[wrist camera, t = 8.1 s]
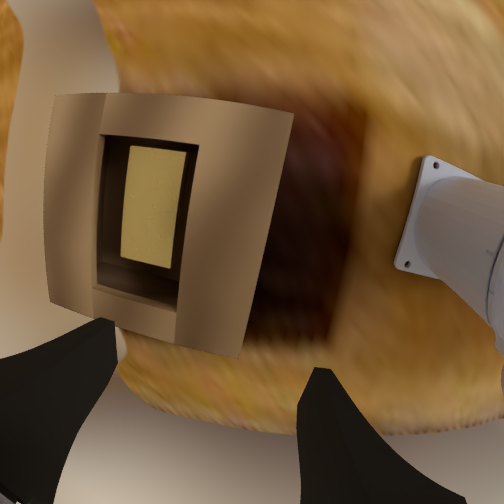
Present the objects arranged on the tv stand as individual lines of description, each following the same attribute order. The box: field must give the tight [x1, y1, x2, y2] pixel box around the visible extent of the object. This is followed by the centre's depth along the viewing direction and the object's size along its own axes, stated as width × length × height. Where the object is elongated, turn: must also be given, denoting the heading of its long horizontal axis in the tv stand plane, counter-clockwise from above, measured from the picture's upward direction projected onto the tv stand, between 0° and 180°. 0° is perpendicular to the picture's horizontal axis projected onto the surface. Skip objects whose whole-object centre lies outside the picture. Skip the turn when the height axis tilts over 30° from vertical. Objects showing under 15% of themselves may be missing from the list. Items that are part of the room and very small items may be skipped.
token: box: [121, 146, 198, 269], centre depth 16 cm, size 3×6×4 cm, turn 169°
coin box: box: [44, 93, 294, 359], centre depth 16 cm, size 12×12×6 cm
